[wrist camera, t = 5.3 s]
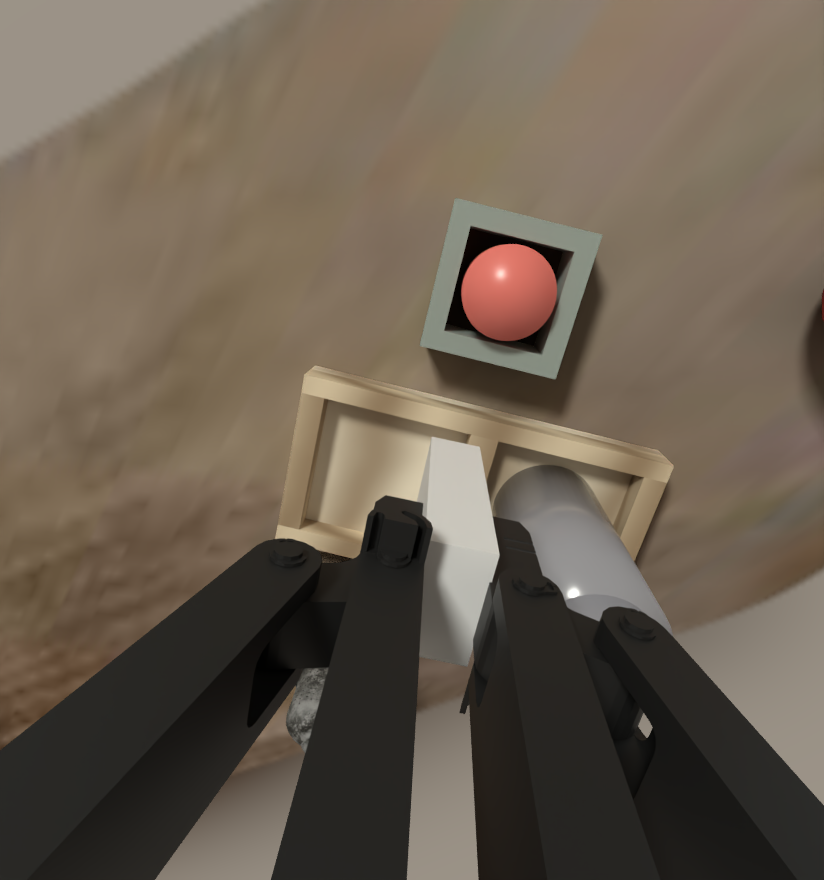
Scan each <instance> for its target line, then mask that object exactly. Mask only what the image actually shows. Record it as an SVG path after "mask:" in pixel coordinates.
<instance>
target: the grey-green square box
mask: <svg viewBox="0 0 824 880" xmlns="http://www.w3.org/2000/svg"><path fill="white" fill-rule="evenodd" d="M470 228H471V229H475V230H479V231H483V232H487V233H491V234H495V235H499V236H502V237H506V238H510V239H514V240H518V241H522V242H526V243H530V244H534V245H538V246H542V247H546V248H550V249H554V250H558V251H562V252H563V253H562V256H561V260H560V263H559V266H558V269H557V273H556V276H555V278H556V284H557V297H556V302H555V306H554V308H553V311H552V313H551V315H550V317H549V318H548V320H547V321H546V322H545V323H544V325H543V326H542V327H541V328H540V329H539V331H538V334H537V338H536V341H535V344H534V346H533V345H529V344H525V343H521V342H517V341H500V340H495V339H492V338H490V337H487V336H485V335H484V334H482V333H481V332H477V331H473V330H469V329H465V328H461V327H457V326H453V325H449V324H446V321H447V317H448V313H449V310H450V306H451V302H452V298H453V294H454V290H455V286H456V282H457V278H458V274H459V270H460V266H461V262H462V258H463V254H464V250H465V246H466V242H467V238H468V235H469V231H470ZM601 238H602V235H601V234H597V233H593V232H589V231H585V230H581V229H577V228H573V227H569V226H565V225H561V224H557V223H553V222H549V221H545V220H541V219H537V218H533V217H529V216H525V215H521V214H517V213H513V212H510V211H506V210H502V209H498V208H494V207H490V206H486V205H482V204H478V203H474V202H470V201H466V200H462V199H458V198H455V201H454V206H453V210H452V214H451V218H450V222H449V226H448V230H447V235H446V239H445V243H444V247H443V251H442V255H441V259H440V264H439V268H438V272H437V276H436V280H435V284H434V288H433V293H432V297H431V301H430V305H429V309H428V313H427V317H426V322H425V326H424V330H423V334H422V338H421V342H420V346H423V347H427V348H431V349H435V350H439V351H443V352H447V353H451V354H455V355H459V356H463V357H467V358H471V359H475V360H479V361H483V362H487V363H491V364H495V365H499V366H503V367H507V368H511V369H515V370H519V371H523V372H527V373H531V374H535V375H539V376H543V377H547V378H551V379H556V376H557V373H558V370H559V367H560V364H561V361H562V358H563V355H564V352H565V349H566V346H567V343H568V340H569V336H570V333H571V330H572V327H573V324H574V321H575V318H576V315H577V312H578V309H579V306H580V303H581V300H582V297H583V294H584V290H585V287H586V284H587V281H588V278H589V275H590V272H591V269H592V266H593V263H594V260H595V257H596V254H597V251H598V248H599V244H600V241H601Z"/></svg>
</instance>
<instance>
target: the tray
mask: <svg viewBox="0 0 824 880" xmlns="http://www.w3.org/2000/svg"><path fill="white" fill-rule="evenodd" d="M432 437H436V438H441V439H445V440H450V441H455V442H459V443H464V444H469V445H473V446H478V447H480V451H481V456H482V462H483V467H484V473H485V478H486V484H487V489H488V494H489V500H490V505H491V511H492V508H493V503H494V500H495V497H496V495H497V493H498V491H499V489H500V488H501V487H502V485H503V484H504V483H505V482H506V481H507V480H508V479H509V478H510V477H512V476H513V475H514V474H516V473H518V472H519V471H522V470H524V469H526V468H529V467H532V466H538V465H556V466H561V467H564V468H567V469H569V470H572V471H574V472H575V473H577V474H578V475H580V476H581V477H582V478H583V479H584V480H585V481H586V482H587V483H588V484H589V486H590V487H591V489H592V490H593V492H594V494H595V495H596V497H597V499H598V501H599V502H600V504H601V506H602V508H603V509H604V511H605V513H606V514H607V516H608V518H609V520H610V521H611V523H612V525H613V526H614V528H615V530H616V532H617V533H618V535H619V537H620V539H621V540H622V542H623V544H624V545H625V547H626V549H627V551H628V552H629V554H630V556H631V557H632V559H633V561H635V559H636V556H637V554H638V551H639V549H640V547H641V544H642V542H643V539H644V537H645V535H646V532H647V530H648V527H649V525H650V523H651V520H652V518H653V515H654V513H655V511H656V508H657V506H658V503H659V501H660V499H661V496H662V494H663V491H664V489H665V487H666V484H667V482H668V479H669V477H670V475H671V472H672V470H673V467H674V466H673V465H672V464H671V463H670V462H669V461H668V460H667V459H666V458H665V457H664V456H663V455H662V454H661V453H660V452H659V451H658V450H654V449H650V448H646V447H642V446H638V445H634V444H630V443H626V442H622V441H618V440H614V439H610V438H606V437H602V436H598V435H594V434H590V433H586V432H582V431H578V430H574V429H570V428H566V427H562V426H558V425H554V424H550V423H546V422H542V421H537V420H533V419H529V418H525V417H521V416H517V415H513V414H509V413H505V412H501V411H497V410H493V409H489V408H485V407H481V406H477V405H473V404H469V403H465V402H461V401H457V400H453V399H449V398H445V397H441V396H437V395H433V394H429V393H424V392H420V391H416V390H412V389H408V388H404V387H400V386H396V385H392V384H388V383H384V382H380V381H376V380H372V379H368V378H364V377H360V376H356V375H352V374H348V373H344V372H340V371H336V370H332V369H328V368H324V367H320V366H316V365H315V366H314V367H313V368H312V369H311V370H309V371H308V372H307V373H306V374H305V375H304V381H303V386H302V392H301V398H300V403H299V409H298V414H297V420H296V426H295V431H294V437H293V443H292V448H291V454H290V459H289V465H288V471H287V476H286V482H285V487H284V493H283V499H282V504H281V510H280V515H279V521H278V527H277V532H276V538H275V539H279V538H285V539H287V538H288V539H295V540H297V541H301V542H304V543H307V544H309V545H311V546H313V547H314V548H315V549H316V550H320V551H324V552H328V553H332V554H336V555H340V556H344V557H348V558H352V559H354V558H356V557H357V556H358V555H359V554H360V551H361V546H362V541H363V536H364V531H365V526H366V521H367V516H368V514H369V513H370V512H371V510H373V509H374V506H375V502H376V501H378V500H379V499H381V498H382V497H384V496H385V495H388V496H392V497H397V498H402V499H406V500H411V501H416V502H417V499H418V494H419V490H420V486H421V481H422V477H423V473H424V468H425V464H426V459H427V455H428V451H429V446H430V442H431V438H432Z"/></svg>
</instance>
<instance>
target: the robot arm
mask: <svg viewBox="0 0 824 880" xmlns="http://www.w3.org/2000/svg"><path fill="white" fill-rule="evenodd" d="M535 553H536V551H535V548H534V546H533V542H532V538H531V535H530V533H529V531H528V530H527V529H526V528H525V527H524V526H523V525H522V524H521V523H520V522H517V521H513V520H508V519H503V518H499V517H494V516H492V511H491V505H490V500H489V494H488V489H487V484H486V478H485V473H484V467H483V462H482V456H481V451H480V447H478V446H473V445H469V444H464V443H459V442H455V441H450V440H445V439H441V438H436V437H432V438H431V442H430V446H429V451H428V455H427V459H426V464H425V468H424V473H423V477H422V481H421V486H420V490H419V494H418V499H417V502H416V501H411V500H406V499H402V498H397V497H392V496H388V495H385V496H384V497H382V498H381V499H379V500H378V501H376V502H375V506H374V509H373V510H371V512H370V513H369V514H368V516H367V521H366V526H365V531H364V536H363V541H362V546H361V551H360V554H359V555H358V556H357V557H356V558H354V559H351V560H349V561H345V562H340V563H322V558H321V554H320V553H319V552H318V551H317V550H316V549H315V548H314V547H313V546H311V545H309V544H307V543H304V542H301V541H297V540H295V539H288V538H287V539H285V538H279V539H273V540H268V541H265V542H263V543H261V544H259V545H257V546H256V547H254V548H253V549H252V550H251V551H249V552H248V553H247V554H245V555H244V556H243V557H242V558H240V559H239V560H238V561H237V562H235V563H234V564H233V565H232V566H230V567H229V568H228V569H227V570H225V571H224V572H223V573H222V574H220V575H219V576H218V577H217V578H215V579H214V580H213V581H212V582H210V583H209V584H208V585H207V586H205V587H204V588H203V589H202V590H200V591H199V592H198V593H197V594H195V595H194V596H193V597H192V598H190V599H189V600H188V601H187V602H185V603H184V604H183V605H182V606H180V607H179V608H178V609H177V610H175V611H174V612H173V613H172V614H170V615H169V616H168V617H167V618H165V619H164V620H163V621H162V622H160V623H159V624H158V625H157V626H155V627H154V628H153V629H152V630H150V631H149V632H148V633H147V634H145V635H144V636H143V637H142V638H140V639H139V640H138V641H137V642H135V643H134V644H133V645H132V646H130V647H129V648H128V649H127V650H125V651H124V652H123V653H122V654H120V655H119V656H118V657H117V658H115V659H114V660H113V661H112V662H110V663H109V664H108V665H107V666H105V667H104V668H103V669H102V670H100V671H99V672H98V673H97V674H95V675H94V676H93V677H92V678H90V679H89V680H88V681H87V682H85V683H84V684H83V685H82V686H80V687H79V688H78V689H76V690H75V691H74V692H73V693H71V694H70V695H69V696H68V697H66V698H65V699H64V700H63V701H61V702H60V703H59V704H58V705H56V706H55V707H54V708H53V709H51V710H50V711H49V712H48V713H46V714H45V715H44V716H43V717H41V718H40V719H39V720H38V721H36V722H35V723H34V724H33V725H31V726H30V727H29V728H28V729H26V730H25V731H24V732H23V733H21V734H20V735H19V736H18V737H16V738H15V739H14V740H13V741H11V742H10V743H9V744H8V745H6V746H5V747H4V748H3V749H1V750H0V880H155V879H156V877H157V876H158V875H159V873H160V872H161V870H162V869H163V868H164V866H165V865H166V863H167V862H168V861H169V859H170V858H171V857H172V855H173V854H174V852H175V851H176V850H177V848H178V847H179V845H180V844H181V843H182V841H183V840H184V839H185V837H186V836H187V834H188V833H189V832H190V830H191V829H192V827H193V826H194V825H195V823H196V822H197V821H198V819H199V818H200V816H201V815H202V814H203V812H204V811H205V809H206V808H207V807H208V805H209V804H210V803H211V801H212V800H213V798H214V797H215V796H216V794H217V793H218V791H219V790H220V789H221V787H222V786H223V785H224V783H225V782H226V780H227V779H228V778H229V776H230V775H231V773H232V772H233V771H234V769H235V768H236V767H237V765H238V764H239V762H240V761H241V760H242V758H243V757H244V755H245V754H246V753H247V751H248V750H249V749H250V747H251V746H252V744H253V743H254V742H255V740H256V739H257V737H258V736H259V735H260V733H261V732H262V731H263V729H264V728H265V726H266V725H267V724H268V722H269V721H270V719H271V718H272V717H273V715H274V714H275V713H276V711H277V710H278V708H279V707H280V706H281V704H282V703H283V701H284V700H285V699H286V697H287V696H288V695H289V693H290V692H291V690H292V689H293V688H294V686H295V685H296V683H297V682H298V681H299V679H300V676H301V674H302V671H303V669H305V668H327V667H329V668H328V672H327V676H326V679H325V683H324V687H323V690H322V694H321V698H320V701H319V705H318V709H317V712H316V716H315V720H314V724H313V727H312V731H311V735H310V738H309V742H308V746H307V749H306V753H305V757H304V760H303V764H302V768H301V771H300V775H299V779H298V782H297V786H296V790H295V793H294V797H293V801H292V805H291V808H290V812H289V816H288V819H287V823H286V827H285V830H284V834H283V838H282V841H281V845H280V848H279V852H278V856H277V859H276V863H275V867H274V871H273V874H272V878H271V880H407V862H408V846H409V845H408V844H409V827H410V811H411V810H410V809H411V793H412V792H411V791H412V774H413V757H414V740H415V722H416V705H417V687H418V669H419V657H424V658H428V659H433V660H438V661H443V662H448V663H452V664H457V665H462V666H468V662H469V659H470V655H471V652H472V649H474V664H473V667H472V671H471V674H470V678H469V681H468V684H467V688H466V691H465V695H464V698H463V701H462V705H461V709H460V713H463V714H465V712H466V709H467V706H468V705H470V725H471V744H472V762H473V782H474V801H475V820H476V839H477V858H478V877H479V880H824V805H823V804H822V803H821V802H820V801H819V800H818V799H817V798H816V797H815V795H814V794H813V793H812V792H811V791H810V790H809V789H808V788H807V786H806V785H805V784H804V783H803V782H802V781H801V780H800V779H799V778H798V776H797V775H796V774H795V773H794V772H793V771H792V770H791V769H790V767H789V766H788V765H787V764H786V763H785V762H784V761H783V760H782V758H781V757H780V756H779V755H778V754H777V753H776V752H775V751H774V750H773V748H772V747H771V746H770V745H769V744H768V743H767V742H766V740H765V739H764V738H763V737H762V736H761V735H760V734H759V733H758V731H757V730H756V729H755V728H754V727H753V726H752V725H751V724H750V723H749V721H748V720H747V719H746V718H745V717H744V716H743V715H742V714H741V713H740V711H739V710H738V709H737V708H736V707H735V706H734V705H733V704H732V702H731V701H730V700H729V699H728V698H727V697H726V696H725V695H724V693H723V692H722V691H721V690H720V689H719V688H718V687H717V686H716V685H715V683H714V682H713V681H712V680H711V679H710V678H709V677H708V676H707V674H706V673H705V672H704V671H703V670H702V669H701V668H700V667H699V665H698V664H697V663H696V662H695V661H694V660H693V659H692V658H691V657H690V656H689V654H688V653H687V652H686V651H685V650H684V649H683V648H682V646H680V644H679V643H678V642H677V641H676V640H675V639H674V637H673V636H672V635H671V634H670V633H669V632H668V631H667V630H666V629H665V628H664V627H663V626H662V625H661V624H660V623H658V622H657V621H656V620H654V619H653V618H651V617H649V616H648V615H647V614H645V613H643V612H641V611H637V610H636V609H632V608H625V607H620V606H617V607H609V608H607V609H606V610H604V611H603V613H602V616H601V618H600V621H597V620H595V619H592V618H590V617H587V616H585V615H582V614H580V613H578V612H575V611H573V610H571V609H569V608H568V607H567V605H566V602H565V600H564V597H563V594H562V592H561V590H560V589H559V587H558V586H557V585H556V584H555V583H554V582H552V581H551V580H550V579H549V578H547V577H545V576H543V574H542V571H541V568H540V565H539V561H538V558H537V555H536V554H535ZM643 713H645V715H646V716H647V718H648V719H649V721H650V723H651V725H652V727H653V728H652V731H651V733H650V735H649V737H648V738H646V737H645V736H644V735H643V733H642V732H641V730H640V729H639V727H638V724H639V722H640V720H641V717H642V715H643Z"/></svg>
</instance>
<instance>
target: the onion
mask: <svg viewBox="0 0 824 880" xmlns="http://www.w3.org/2000/svg"><path fill="white" fill-rule="evenodd" d="M822 319H823V321H824V290H823V293H822Z"/></svg>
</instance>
